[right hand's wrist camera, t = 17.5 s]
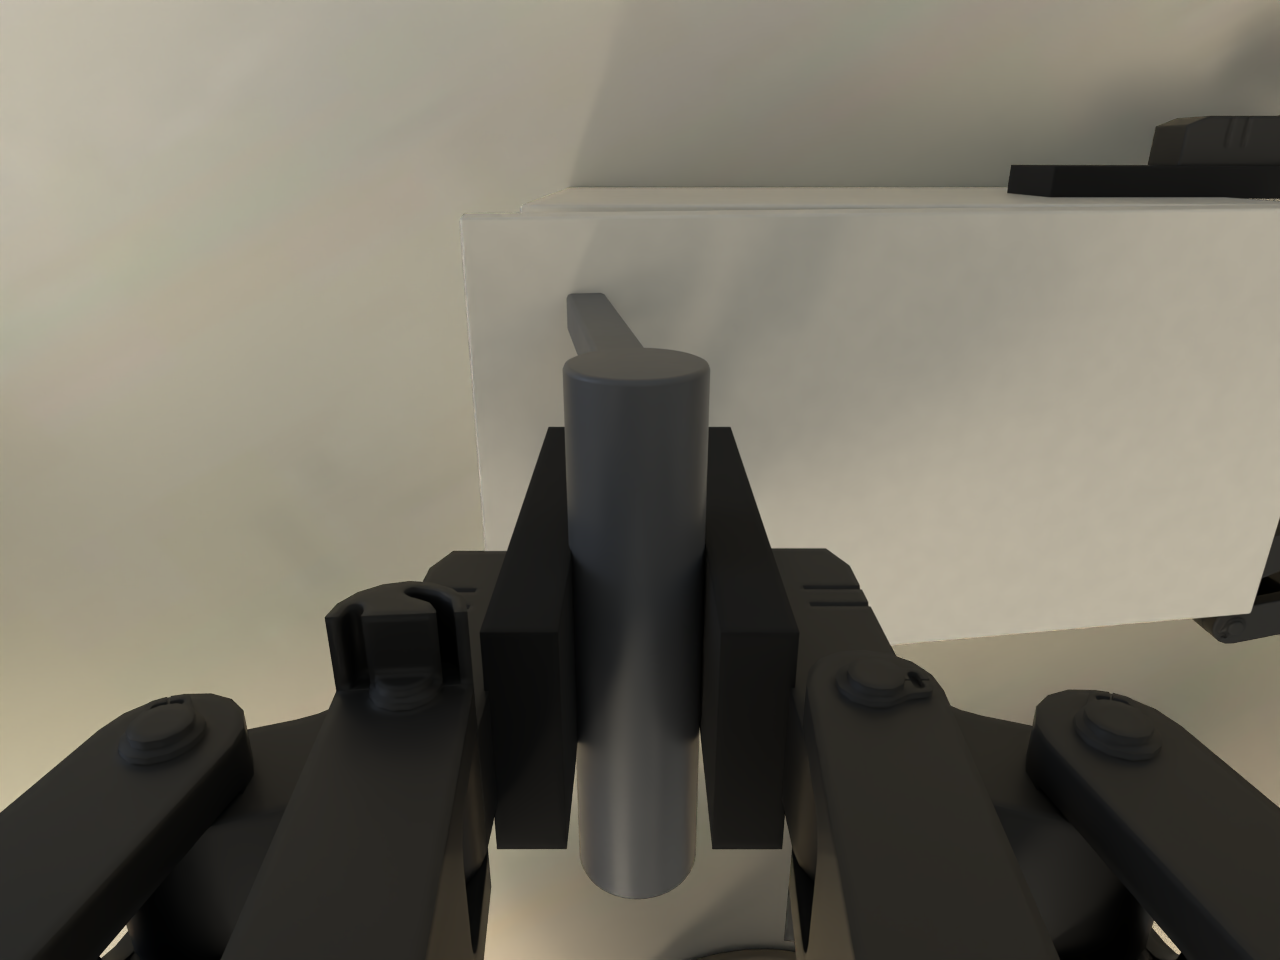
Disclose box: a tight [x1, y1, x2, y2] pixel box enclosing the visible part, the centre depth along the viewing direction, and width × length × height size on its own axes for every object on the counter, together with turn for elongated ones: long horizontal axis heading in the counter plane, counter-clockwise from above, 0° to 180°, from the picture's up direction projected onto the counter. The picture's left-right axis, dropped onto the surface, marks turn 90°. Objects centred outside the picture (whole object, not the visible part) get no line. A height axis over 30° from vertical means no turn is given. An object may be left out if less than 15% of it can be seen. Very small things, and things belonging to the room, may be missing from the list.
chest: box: [520, 187, 1280, 213], centre depth 25 cm, size 17×9×11 cm, turn 90°
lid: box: [460, 205, 1280, 899], centre depth 14 cm, size 18×9×8 cm, turn 90°
